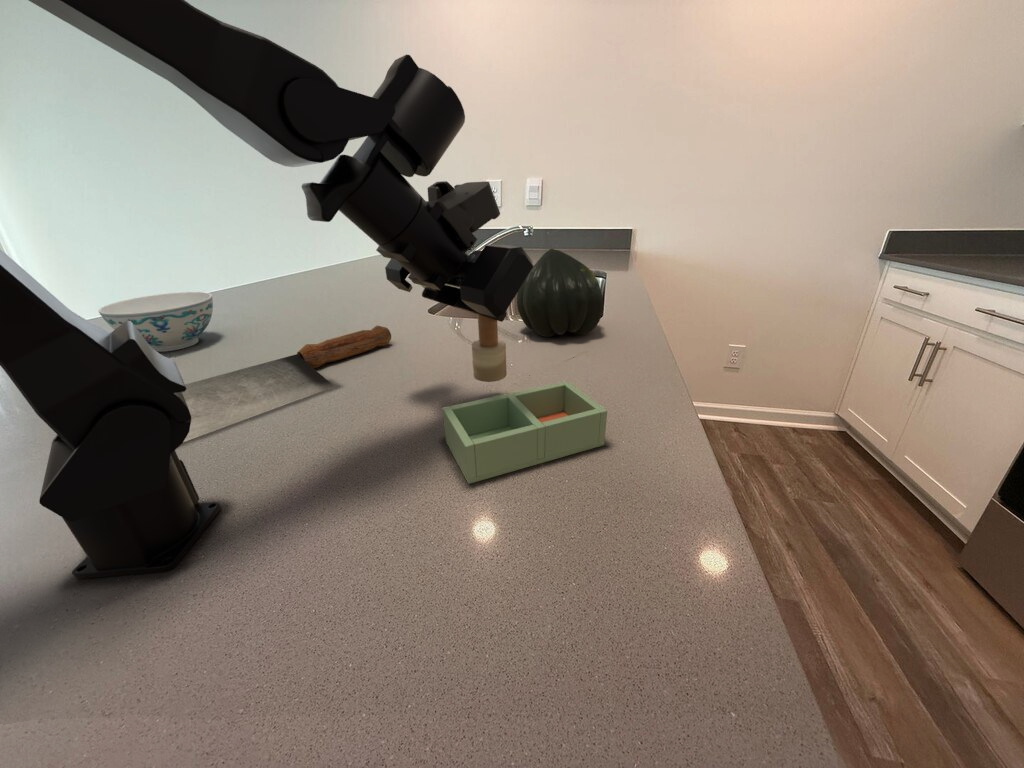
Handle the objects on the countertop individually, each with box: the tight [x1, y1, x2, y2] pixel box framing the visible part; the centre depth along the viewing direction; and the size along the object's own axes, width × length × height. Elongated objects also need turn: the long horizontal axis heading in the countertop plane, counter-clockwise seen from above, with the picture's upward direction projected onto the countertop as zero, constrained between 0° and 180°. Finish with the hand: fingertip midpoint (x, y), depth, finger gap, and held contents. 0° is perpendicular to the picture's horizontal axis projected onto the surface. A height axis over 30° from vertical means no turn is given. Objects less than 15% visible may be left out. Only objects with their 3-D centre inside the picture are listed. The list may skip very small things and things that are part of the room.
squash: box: [516, 248, 604, 338], centre depth 72 cm, size 14×15×15 cm
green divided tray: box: [442, 380, 608, 485], centre depth 41 cm, size 14×8×4 cm, turn 114°
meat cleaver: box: [182, 324, 392, 443], centre depth 56 cm, size 34×11×4 cm, turn 140°
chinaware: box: [98, 291, 214, 353], centre depth 70 cm, size 15×15×8 cm
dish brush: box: [471, 314, 508, 383], centre depth 46 cm, size 4×4×13 cm
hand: (496, 315), depth 47 cm, fingers closed on dish brush, 2 cm apart
